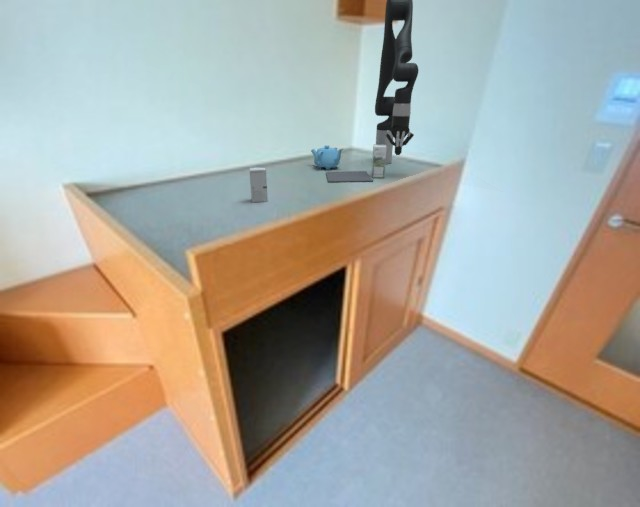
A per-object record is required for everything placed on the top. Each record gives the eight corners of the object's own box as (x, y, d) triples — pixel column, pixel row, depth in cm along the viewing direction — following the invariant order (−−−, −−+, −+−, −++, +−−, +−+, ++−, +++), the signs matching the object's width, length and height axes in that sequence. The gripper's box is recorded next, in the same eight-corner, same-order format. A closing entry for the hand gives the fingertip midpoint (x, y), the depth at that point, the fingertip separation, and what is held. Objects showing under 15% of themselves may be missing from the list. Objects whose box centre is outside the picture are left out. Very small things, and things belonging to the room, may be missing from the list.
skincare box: (252, 202, 132) (249, 170, 126) (251, 199, 135) (248, 167, 130) (268, 201, 133) (266, 169, 127) (267, 197, 137) (265, 166, 131)
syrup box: (383, 175, 168) (385, 144, 161) (384, 178, 163) (386, 146, 156) (371, 175, 168) (373, 143, 162) (371, 178, 163) (373, 146, 157)
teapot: (339, 164, 189) (339, 142, 184) (343, 170, 177) (343, 147, 172) (311, 165, 188) (310, 143, 183) (313, 171, 176) (313, 148, 171)
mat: (325, 172, 173) (325, 171, 172) (366, 172, 173) (366, 171, 173) (328, 182, 156) (328, 181, 156) (372, 181, 157) (372, 180, 157)
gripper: (413, 113, 157) (409, 153, 165) (384, 114, 157) (381, 153, 164) (418, 115, 151) (414, 156, 158) (388, 115, 150) (385, 156, 158)
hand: (397, 154), depth 161 cm, fingers closed
